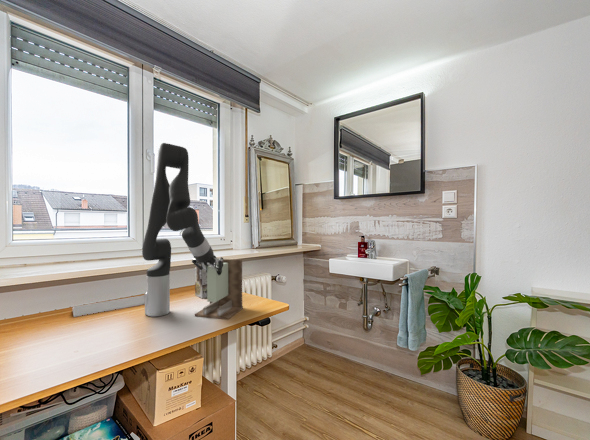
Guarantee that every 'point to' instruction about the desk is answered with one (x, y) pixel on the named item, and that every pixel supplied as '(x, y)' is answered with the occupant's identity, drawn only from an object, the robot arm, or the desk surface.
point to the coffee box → (200, 283)
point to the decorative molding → (108, 305)
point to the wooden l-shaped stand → (234, 298)
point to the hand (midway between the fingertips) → (215, 273)
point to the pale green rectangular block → (217, 283)
